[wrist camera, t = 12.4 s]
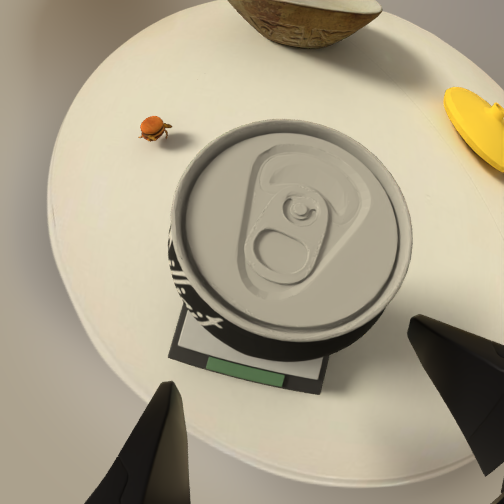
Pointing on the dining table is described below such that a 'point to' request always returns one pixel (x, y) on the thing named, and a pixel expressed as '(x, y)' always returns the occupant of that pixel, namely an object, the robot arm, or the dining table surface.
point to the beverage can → (288, 239)
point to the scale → (241, 360)
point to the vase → (477, 124)
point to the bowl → (307, 19)
